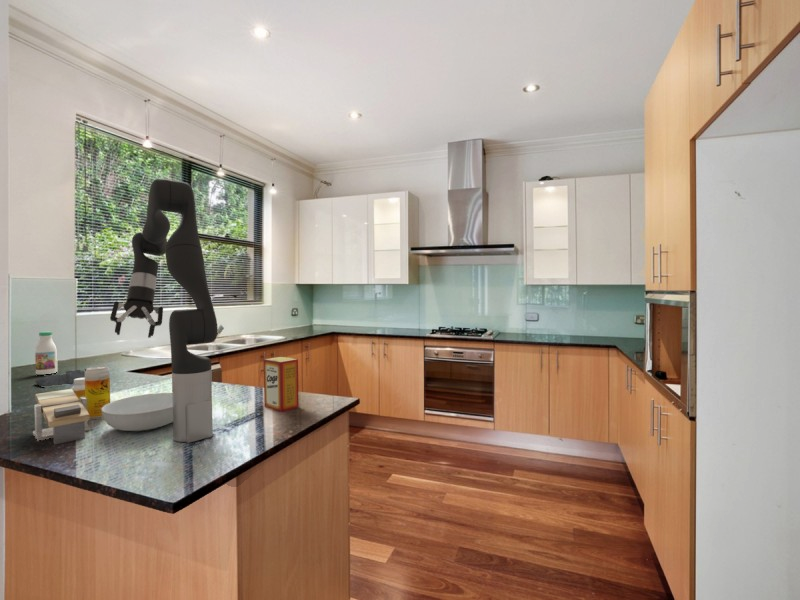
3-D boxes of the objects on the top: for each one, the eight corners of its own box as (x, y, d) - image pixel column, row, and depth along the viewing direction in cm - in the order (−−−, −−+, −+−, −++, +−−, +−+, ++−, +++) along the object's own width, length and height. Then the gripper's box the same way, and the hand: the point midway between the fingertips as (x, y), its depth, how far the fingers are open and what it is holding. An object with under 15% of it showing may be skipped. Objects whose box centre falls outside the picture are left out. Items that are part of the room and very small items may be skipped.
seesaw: (89, 420, 106) (89, 408, 106) (49, 428, 100) (49, 415, 100) (71, 394, 120) (71, 383, 120) (35, 399, 114) (35, 388, 114)
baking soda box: (264, 406, 133) (263, 358, 133) (281, 402, 138) (280, 355, 138) (281, 411, 127) (280, 361, 127) (298, 407, 132) (297, 358, 132)
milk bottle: (41, 373, 193) (40, 331, 192) (60, 372, 195) (59, 330, 194) (32, 376, 185) (30, 332, 185) (52, 375, 188) (51, 332, 187)
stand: (96, 435, 107) (95, 403, 107) (41, 447, 99) (40, 413, 99) (83, 423, 117) (83, 394, 117) (32, 434, 109) (31, 403, 109)
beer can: (97, 420, 120) (96, 370, 120) (80, 419, 121) (79, 369, 121) (115, 414, 126) (114, 366, 126) (99, 413, 127) (98, 365, 127)
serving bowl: (81, 437, 106) (80, 411, 106) (142, 413, 127) (141, 391, 127) (153, 441, 103) (152, 414, 103) (204, 415, 124) (203, 393, 124)
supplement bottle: (95, 407, 134) (94, 378, 134) (75, 411, 130) (74, 381, 130) (88, 404, 137) (87, 376, 137) (69, 408, 133) (68, 379, 133)
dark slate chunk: (31, 385, 170) (31, 373, 170) (94, 376, 188) (93, 365, 188) (42, 390, 161) (41, 378, 161) (107, 380, 179) (106, 369, 179)
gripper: (116, 281, 129) (107, 331, 124) (167, 288, 137) (160, 335, 132) (116, 288, 135) (107, 336, 130) (165, 295, 143) (158, 340, 138)
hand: (134, 335), depth 131 cm, fingers open, 8 cm apart
